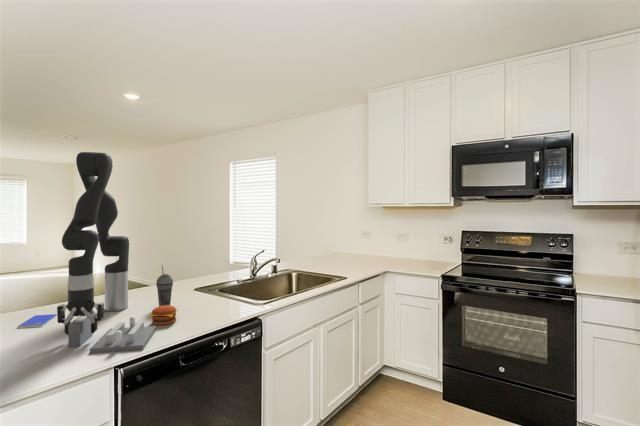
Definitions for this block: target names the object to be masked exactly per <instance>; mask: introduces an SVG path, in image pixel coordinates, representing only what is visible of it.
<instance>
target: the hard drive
mask: <svg viewBox="0 0 640 426" xmlns="http://www.w3.org/2000/svg"><path fill="white" fill-rule="evenodd" d="M55 318H58V317H57V314H56V313H53V314H52V313H51V314H40V315H39V314H37V315H34V316H32V317H30V318H29V319H27V320H25V321H24V322H21V323H20V324H19V325H17V329H26V328H27V329H28V328H40V327H41V328H42V327H44V326H46V325H47V324H49V323H50V322H51V321H53V320H54V319H55Z"/></svg>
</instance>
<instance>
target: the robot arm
mask: <svg viewBox="0 0 640 426" xmlns="http://www.w3.org/2000/svg"><path fill="white" fill-rule="evenodd" d="M75 162H76V167H77V168H76V169H77V171H78V174H79V177H80V179H81V182H82V184H83V186H84V190H85V191H84V192H83V193H82V195H81V196H80V197H79V198H78V200H77V201H76V204H75V208H74V213H73V217H72V219H71V222H70V223H69V224H68V226H67V228H66V230H65V232H64V233H63V234H62V237H61V244H62V245H61V246H62V247H63V248H64V249H65V250H66V251H84V253H83V255H79V256H75V257H72V258H70V259H69V260H68V276H67V278H68V279H67V284H66V285H67V304H64V303H61V304H59V305H58V306H57V307H56V313H57V317H56V318H57V323H58V324H63V326H64V334H65V335H66V336H68V324H70V323H71V322H72V321H73V319H74V317H79V316H85V315H86V317H87V318H88V319H89V320H90V321H91V322H92V323H91V333H93V334H95V332H97V330H98V322H100V321H102V320H103V319H104V313H105V312H106V311H107V312H116V311H117V312H119V311H122V310H125V309H127V308H128V307H129V255H130V240H129V237H127V236H126V235H122V236H121V235H112V236H111V235H110V234H109V232H110V229H111V228H112V225H113V224H114V223H115V221H116V220H117V218H118V214H119V212H118V207H117V203H116V200H115V197H113V195H112V194H111V193H109V191H107V190H106V188H107V186H108V183H109V181H110V177H111V174H112V171H113V159H112V156H111V155H110V154H109V153H108V152H107V153H106V152H98V151H97V152H95V151H80V152H79V153H77V155H76V160H75ZM94 226H95V228H96V231H95V230H92V229H87V230H86V229H85V228H88V227H94ZM98 245H99V250H100V252H101V254H102V256H104V257H118V260H115V261H114V262H112V263H108V264H106V265H105V266H104V302H103V301H102V302H97V303H96V302H95V278H94V258H95V255H96V251H97V248H98ZM94 308H95V309H96V310H97V311H96V312H97V313H95V311H94ZM66 310H68V312H69V314H68V315H67V316H66ZM96 314H97V315H96Z"/></svg>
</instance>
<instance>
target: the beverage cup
mask: <svg viewBox="0 0 640 426" xmlns="http://www.w3.org/2000/svg"><path fill="white" fill-rule="evenodd" d="M161 272H162V274H160V276H159V277H157V279H156V283H155V285H156V288H157V299H158V301H157V302H158V307H159V306H163V305H169V306H171V299H172V292H173V291H172V290H173V286H174V280H173V277H172V276H171V275H170V274H168V273H164V265H162V264H161Z"/></svg>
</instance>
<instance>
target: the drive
mask: <svg viewBox="0 0 640 426" xmlns="http://www.w3.org/2000/svg"><path fill="white" fill-rule="evenodd" d="M91 323H92V322H91V321H90V320H89V319H88V318H87V317H86V315H85V316H77V318H75V319H74V320H71V321H70V324H68V335H67V336H68V339H67V341H68V343H67V344H68V345H67V346H68V348H80V347H82V346H83V345H84V344H85V343H86V342H87V341H88V340H89V339H91V338H92V337H93V335H94V333H91ZM68 348H67V349H68Z"/></svg>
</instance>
